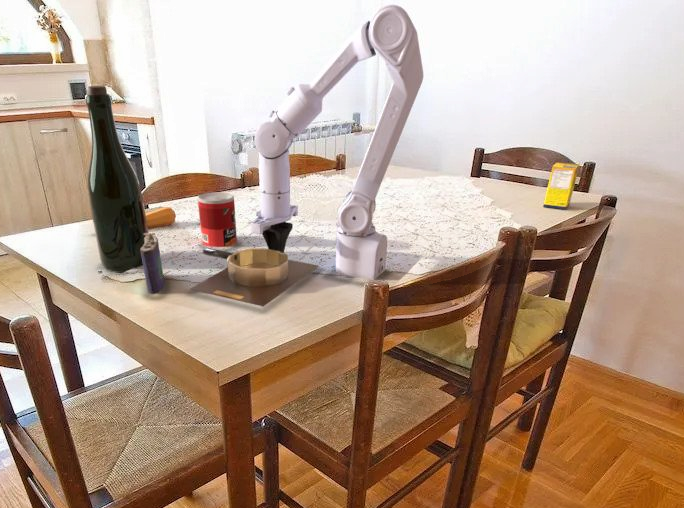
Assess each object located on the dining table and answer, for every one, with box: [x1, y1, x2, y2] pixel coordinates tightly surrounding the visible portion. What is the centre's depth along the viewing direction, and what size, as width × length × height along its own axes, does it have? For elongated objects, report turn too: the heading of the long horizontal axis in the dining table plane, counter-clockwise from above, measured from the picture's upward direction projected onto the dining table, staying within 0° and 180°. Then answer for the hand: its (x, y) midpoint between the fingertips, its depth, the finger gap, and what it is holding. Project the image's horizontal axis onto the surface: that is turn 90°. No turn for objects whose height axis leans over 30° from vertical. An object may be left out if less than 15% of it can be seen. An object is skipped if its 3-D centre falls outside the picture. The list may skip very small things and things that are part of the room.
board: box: [189, 259, 320, 307], centre depth 102 cm, size 16×22×1 cm
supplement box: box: [543, 162, 580, 211], centre depth 144 cm, size 6×6×11 cm
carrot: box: [145, 206, 177, 229], centre depth 131 cm, size 20×4×4 cm, turn 119°
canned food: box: [197, 191, 238, 248], centre depth 118 cm, size 8×8×11 cm
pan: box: [202, 247, 289, 287], centre depth 103 cm, size 19×11×4 cm, turn 61°
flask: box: [140, 232, 165, 299], centre depth 97 cm, size 9×3×11 cm, turn 8°
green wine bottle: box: [85, 85, 150, 273], centre depth 102 cm, size 10×10×33 cm
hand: (276, 259), depth 107 cm, fingers closed
